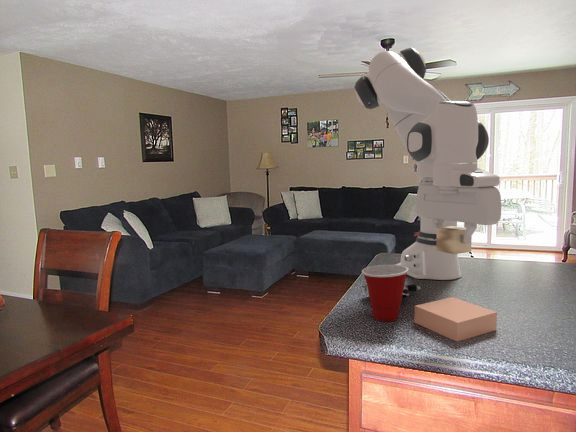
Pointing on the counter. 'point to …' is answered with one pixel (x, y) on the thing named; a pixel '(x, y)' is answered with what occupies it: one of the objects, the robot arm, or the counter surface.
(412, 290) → the robot toy
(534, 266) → the counter surface
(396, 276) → the plastic cup
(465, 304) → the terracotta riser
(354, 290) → the counter surface
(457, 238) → the maple cube
